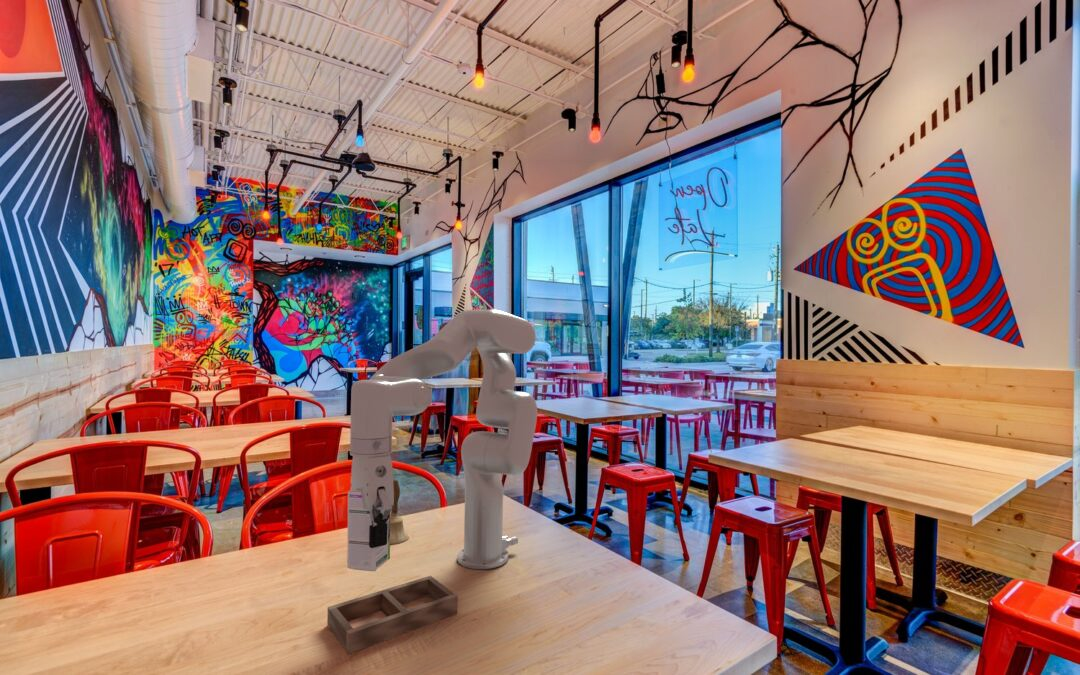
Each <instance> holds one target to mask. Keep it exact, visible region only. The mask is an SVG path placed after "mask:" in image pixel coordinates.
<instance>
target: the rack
mask: <svg viewBox="0 0 1080 675" xmlns="http://www.w3.org/2000/svg"><path fill="white" fill-rule="evenodd" d="M427 596H428V597H429V598H430V599H432V601H430V602H427V603H424V604H421V605H418V606H415V607H412V608H409V609H407V608H406V607H405V606H404V604H407V603H411V602H413V601H416V600H418V599H421V598H424V597H427ZM458 599H459V596H458V594H456V593H454V592H453V591H452V590H450V589H449V588H448V587H446V585H444V584H443V583H442V582H440V581H438V580H437V579H436V578H435V577H433V576H432V575H428V576H423V577H421V578H418V579H415V580H412V581H409V582H405V583H401V584H399V585H396V586H392V587H390V588H386V589H385V588H384V589H383V590H379V591H376V592H373V593H370V594H367V595H363V596H360V597H356V598H354V599H353V598H352V599H349V600H346V601H343V602H340V603H336V604H333V605H330V606H327V623H326V624H327V625H326V626H327V627H328V628H329V630H330V632H331V633H332V634H333V636H334V637H335V638H336V639H337V641H338V642H339V643H340V645H341V646H342V647H343V649H344V650H345V652H346V653H347V654H348V655H351V654H353V653H355V652H358V651H361V650H364V649H366V648H369V647H371V646H375V645H377V644H380V643H382V642H384V641H388V640H390V639H393V638H396V637H398V636H401V635H404V634H407V633H409V632H412V631H415V630H417V629H420V628H423V627H425V626H428V625H431V624H434V623H436V622H439V621H442V620H444V619H447V618H450V617H452V616H455V615H457V614H458V608H459V607H458V603H459V600H458Z"/></svg>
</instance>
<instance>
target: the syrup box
mask: <svg viewBox="0 0 1080 675" xmlns="http://www.w3.org/2000/svg"><path fill="white" fill-rule="evenodd" d="M375 507H380V504H379V503H378V498H377V499H376V502H375V504H373V508H375ZM379 513H381V511H378V512H375V516H376V517H377V515H378V514H379ZM390 516H391V515H390ZM390 516H389V518H388V520H389V522H388V528H387V544H386V545H384V546H379V547H375V548H370V547H369V526H370V525H372V523H371V518H370V512H369V511H368V510H366V509H364V507H363V502H362V495H361V491H360V490H358V489H353V490H351V489H350V490H348V491H347V557H346V558H347V568H348V569H349V570H350V569H351V570H356V571H357V570H358V571H364V572H376V571H377V570H378V568H380V567H382V566H383V565H384V564H386V562H387V561H389V560H390V558H391V544H390Z"/></svg>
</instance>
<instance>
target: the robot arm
mask: <svg viewBox="0 0 1080 675" xmlns="http://www.w3.org/2000/svg"><path fill="white" fill-rule="evenodd" d="M536 337H537V335H536V331H535V328H534V326H533V324H532V323H531V322H530V321H529V320H527V319H525V318H522V317H519V316H516V315H514V314H511V313H508V312H505V311H502V310H498V309H466V310H463V311H461V312H458V313H457V314H456V315H455V316H454V317H453V318H452V319H450V321H448V322H447V323H446V324H445V325H444V326H443V327H442V328H440V330H439V331H438V332H437V333H435V334H434V335H433V336H432V337H431V338H430V339H429V340H428V341H426V342H424V343H422V344H419V345H417V346H415V347H413V348H411V349H409V350H407V351H404V352H402V353H401V354H399V355H396V356H395V357H393V358H392V359H390V360H389V361H387V362H386V363H384V364H383V365H382V366H380V368H379V369H378V370H377V371H376V372H375V373H374V374H372V376H371V377H370V378H369V379H361V380H357V381H354V383H352V386H351V390H350V391H351V393H350V396H351V398H350V399H351V400H350V433H349V436H350V437H349V438H350V442H349V456H351V457H352V462H351V475H350V490H353V489H358V490H360V491H361V495H362V502H363V507H364V509H366V510H368V511H369V512H370V518H371V523H372V525H370V526H369V547H370V548H375V547H379V546H384V545H386V544H387V528H388V522H389V520H388V518H389V516H391V511H392V506H393V504H394V489H393V480H394V472H393V471H394V470H393V461H392V455H391V454H392V453H393V450H392V449H393V417H394V416H406V417H407V416H417V415H419V414H421V413H423V412H425V410H427V408H428V407H429V406H430V403H431V400H432V391H431V388H430V387H429V385H428V384H427V383H426V382H425V381H423V380H424V379H427V378H432V377H436V376H437V377H438V376H441V375H444V374H446V373H450V372H451V371H454V370H456V368H458V367H459V365H460V364H461V363H462V362H463V361H464V360H465V359H466V358H467V356H469V355H470V353H471V352H473V350H475V348H476V349H477V352H478V353H479V356H480V358H481V361H482V365H483V375H482V381H481V386H480V388H479V389H480V390H479V394H478V399H477V404H476V409H475V410H476V412H475V416H476V420H477V421H478V422H479V424H481V425H483V426H486V427H490V428H499V429H506V430H508V432H507V433H508V434H506V433H499V432H493V431H487V430H486V431H485V430H484V431H483V430H482V431H474V432H471V433H469V434H468V435H467V436H466V437H465V438H464V439H463V441H462V444H461V449H460V453H461V455H460V456H461V461H462V467H463V473H464V474H463V475H464V524H463V525H464V529H463V532H464V533H463V534H464V535H463V549H461V550H460V551H459V552H458V553H457V559H456V560H457V562H458V563H459V565H461V566H463V567H465V568H468V569H473V570H489V569H495V568H497V567H500V566H502V565H504V564H505V563H507V562H508V560H509V552H508V550H507V549H508V548H509V547H510V546H512V547H513V546H515V545H518V543H519V540H518V539H519V538H518V537H517V536H511V537H509V538H508V536H507V535H503V524H504V523H503V521H504V520H503V518H504V517H503V516H504V514H503V513H504V486H503V482H502V478H501V477H500V474H501V475H506V476H520V475H521V474H523V473H524V472H526V471H525V470H526V469H527V468H528V466H529V462H530V459H531V453H532V448H533V442H534V437H535V432H536V426H537V420H538V406H537V405H538V404H537V401H536V399H535V398H534V396H532V395H531V394H530V393H528V392H525V391H519V390H518V391H517V390H515V386H516V379H517V370H516V368H515V365H514V363H513V361H512V359H511V358H510V356H509V354H515V355H516V354H521V355H522V354H527V353H529V352H530V351H531V350H532V349H533V348H534V345H535V343H536V339H537V338H536ZM377 498H378V503H379V504H380V507H375V508H373V504H375V502H376V499H377ZM378 511H381V513H379V514H378V515H377V517H376V516H375V512H378Z"/></svg>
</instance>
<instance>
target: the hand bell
mask: <svg viewBox="0 0 1080 675" xmlns="http://www.w3.org/2000/svg"><path fill="white" fill-rule="evenodd" d="M393 489H394V504H393V506H392V507H391V511H390V545H397V544H402V543H406V542H407V541H408V540H409V539H410V535H409V533H408V532H406V530H405V527H404V521H403V520H404V519H403V518H402V517H401V516H399V515H398V512H399V509H398V505H399V500H400V496H401V487H400V484H399V480H398V479H393Z"/></svg>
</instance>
